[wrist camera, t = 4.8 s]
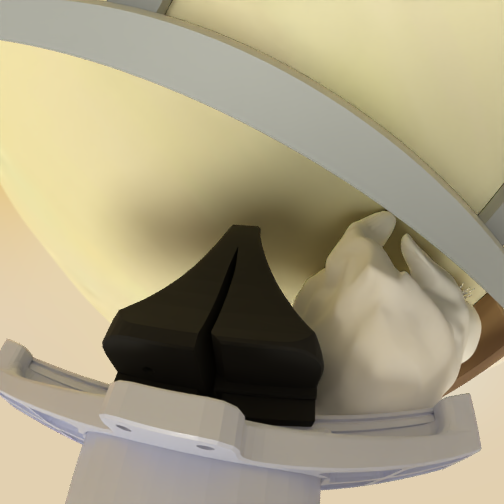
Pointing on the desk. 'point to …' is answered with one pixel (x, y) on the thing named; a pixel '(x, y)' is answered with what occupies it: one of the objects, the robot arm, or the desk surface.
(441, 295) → the white lumpy rounded piece
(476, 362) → the stop bar
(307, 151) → the screen
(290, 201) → the desk surface
